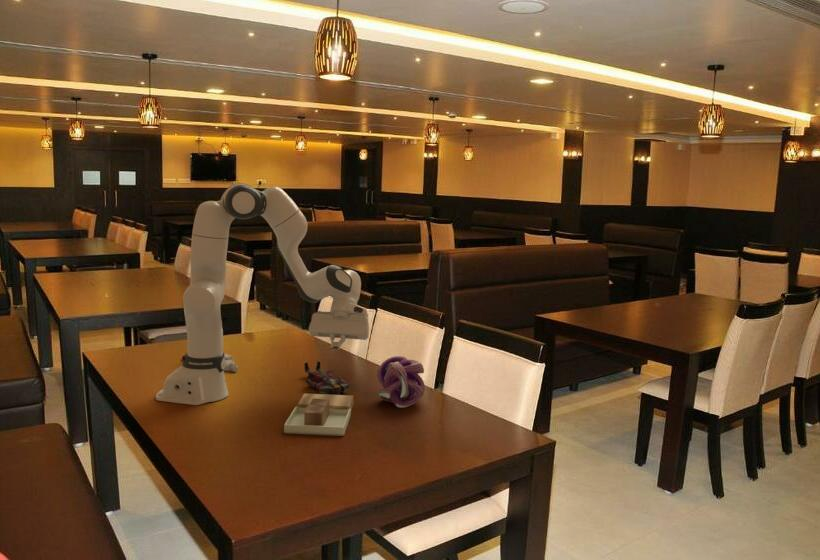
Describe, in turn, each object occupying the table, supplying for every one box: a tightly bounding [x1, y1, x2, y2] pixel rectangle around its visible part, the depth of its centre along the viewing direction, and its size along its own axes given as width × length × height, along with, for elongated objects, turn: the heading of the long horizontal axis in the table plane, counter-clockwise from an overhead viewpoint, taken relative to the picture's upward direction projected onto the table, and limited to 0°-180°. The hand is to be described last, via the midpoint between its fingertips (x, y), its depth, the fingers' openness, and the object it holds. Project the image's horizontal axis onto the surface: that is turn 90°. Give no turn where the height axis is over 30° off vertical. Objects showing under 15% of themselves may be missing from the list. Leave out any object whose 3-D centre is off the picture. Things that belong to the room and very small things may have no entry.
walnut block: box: [304, 398, 329, 426], centre depth 184 cm, size 5×5×12 cm
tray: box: [283, 405, 352, 437], centre depth 184 cm, size 17×16×2 cm
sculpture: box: [376, 355, 426, 409], centre depth 205 cm, size 16×17×20 cm
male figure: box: [224, 352, 239, 373], centre depth 238 cm, size 11×10×25 cm
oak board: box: [297, 393, 354, 411], centre depth 197 cm, size 16×10×3 cm, turn 88°
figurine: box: [304, 361, 350, 395], centre depth 217 cm, size 13×6×30 cm
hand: (335, 347), depth 205 cm, fingers closed
